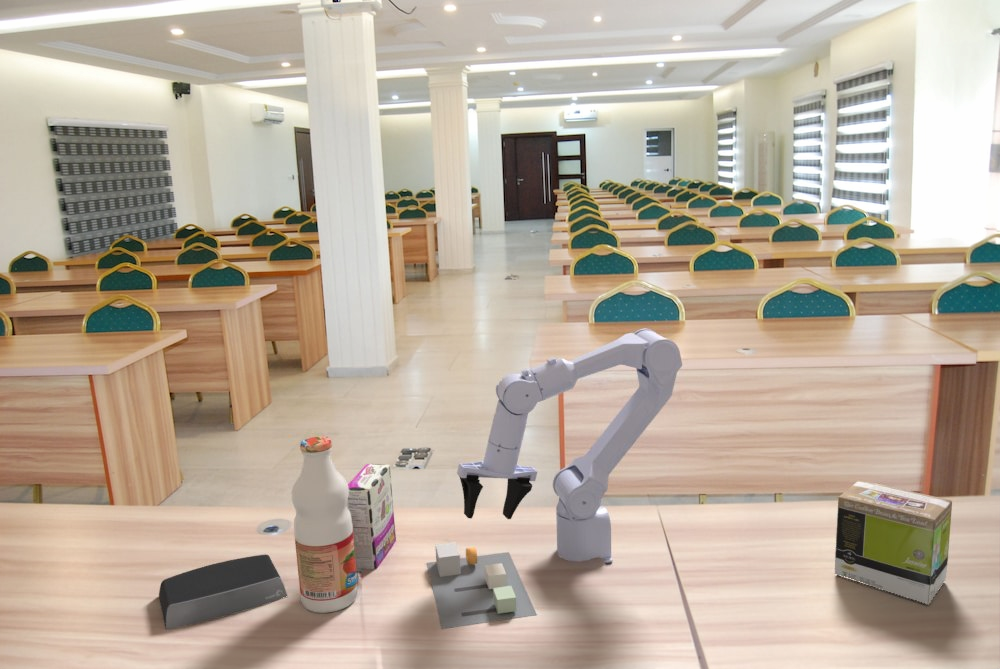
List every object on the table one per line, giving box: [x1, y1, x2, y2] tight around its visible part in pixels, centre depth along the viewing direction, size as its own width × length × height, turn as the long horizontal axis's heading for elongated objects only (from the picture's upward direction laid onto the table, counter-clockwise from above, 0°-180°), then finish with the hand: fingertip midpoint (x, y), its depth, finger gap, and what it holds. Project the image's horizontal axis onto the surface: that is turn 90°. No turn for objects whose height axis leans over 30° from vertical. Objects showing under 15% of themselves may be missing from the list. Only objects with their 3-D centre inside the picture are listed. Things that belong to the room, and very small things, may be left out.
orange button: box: [465, 546, 478, 565], centre depth 142 cm, size 2×3×3 cm, turn 11°
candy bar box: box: [347, 463, 397, 573], centre depth 146 cm, size 11×5×16 cm, turn 168°
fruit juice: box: [291, 435, 359, 614], centre depth 132 cm, size 9×9×28 cm
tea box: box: [834, 479, 953, 605], centre depth 134 cm, size 15×10×15 cm, turn 47°
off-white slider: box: [485, 563, 507, 589], centre depth 136 cm, size 3×4×2 cm
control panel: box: [426, 541, 538, 630], centre depth 135 cm, size 15×21×5 cm
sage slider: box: [493, 586, 517, 614], centre depth 128 cm, size 3×4×2 cm
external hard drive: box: [158, 554, 288, 630], centre depth 137 cm, size 13×19×4 cm
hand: (487, 516), depth 141 cm, fingers open, 7 cm apart
